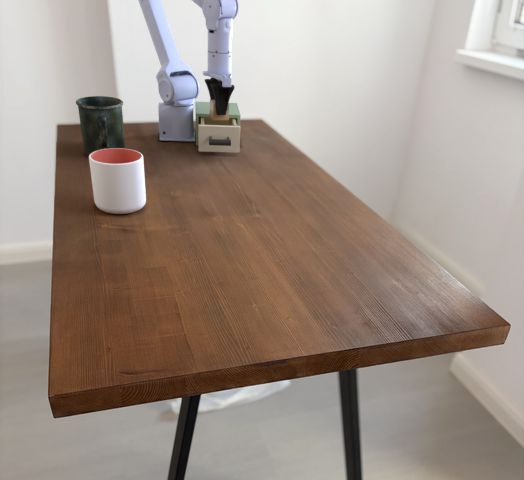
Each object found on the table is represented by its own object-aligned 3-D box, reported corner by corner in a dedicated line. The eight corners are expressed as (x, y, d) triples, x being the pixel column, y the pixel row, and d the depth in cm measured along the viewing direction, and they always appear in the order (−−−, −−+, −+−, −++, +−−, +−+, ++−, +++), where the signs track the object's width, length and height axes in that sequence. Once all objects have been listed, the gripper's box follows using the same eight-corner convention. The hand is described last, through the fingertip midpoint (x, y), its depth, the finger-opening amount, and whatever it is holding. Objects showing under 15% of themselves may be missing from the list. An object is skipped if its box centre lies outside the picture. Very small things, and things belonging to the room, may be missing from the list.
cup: (105, 219, 104) (99, 167, 98) (88, 201, 110) (81, 151, 105) (154, 211, 109) (151, 160, 103) (134, 194, 115) (130, 145, 109)
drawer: (240, 158, 136) (241, 132, 133) (198, 157, 135) (198, 130, 131) (236, 139, 150) (237, 114, 146) (198, 137, 149) (197, 113, 145)
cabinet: (239, 146, 147) (240, 115, 142) (196, 145, 146) (195, 113, 141) (236, 133, 158) (237, 103, 153) (195, 131, 157) (195, 101, 152)
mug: (126, 146, 142) (121, 96, 135) (130, 164, 131) (125, 110, 123) (82, 146, 139) (75, 95, 132) (82, 165, 128) (75, 110, 121)
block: (213, 120, 136) (213, 103, 134) (209, 116, 139) (209, 99, 137) (228, 120, 138) (229, 103, 135) (224, 116, 141) (225, 99, 138)
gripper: (196, 46, 134) (196, 105, 142) (210, 56, 123) (210, 120, 131) (224, 47, 136) (223, 105, 144) (240, 57, 125) (238, 119, 133)
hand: (218, 112), depth 138 cm, fingers closed on block, 4 cm apart
